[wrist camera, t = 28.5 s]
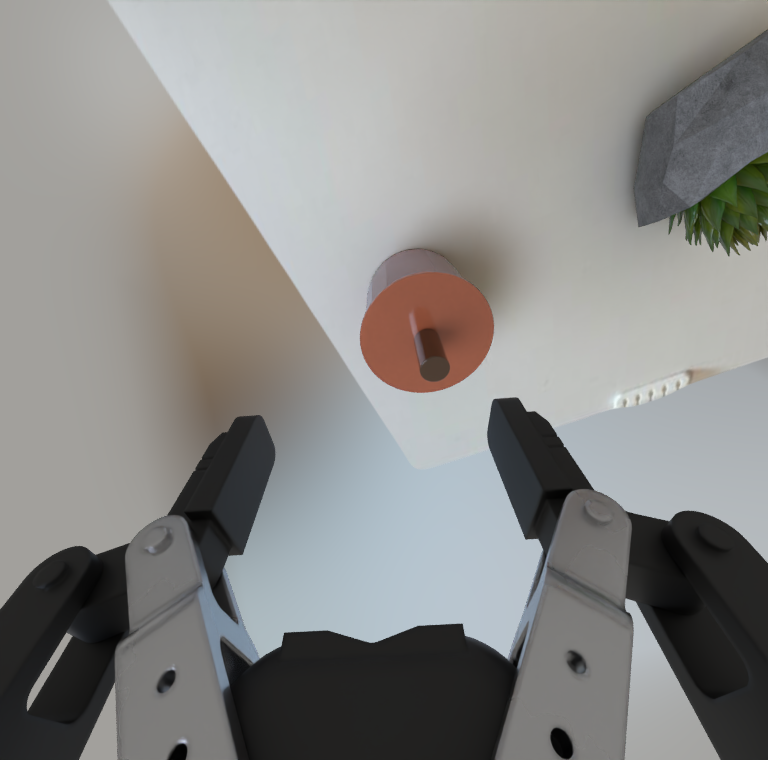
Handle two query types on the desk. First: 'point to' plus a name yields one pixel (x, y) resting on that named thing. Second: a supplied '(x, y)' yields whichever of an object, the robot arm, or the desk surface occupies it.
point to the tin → (407, 268)
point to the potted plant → (711, 154)
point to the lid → (426, 331)
